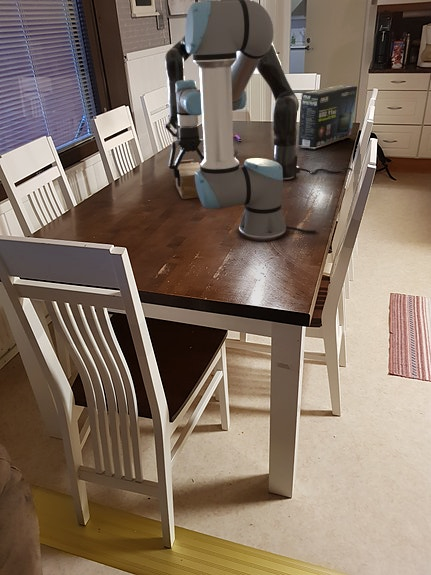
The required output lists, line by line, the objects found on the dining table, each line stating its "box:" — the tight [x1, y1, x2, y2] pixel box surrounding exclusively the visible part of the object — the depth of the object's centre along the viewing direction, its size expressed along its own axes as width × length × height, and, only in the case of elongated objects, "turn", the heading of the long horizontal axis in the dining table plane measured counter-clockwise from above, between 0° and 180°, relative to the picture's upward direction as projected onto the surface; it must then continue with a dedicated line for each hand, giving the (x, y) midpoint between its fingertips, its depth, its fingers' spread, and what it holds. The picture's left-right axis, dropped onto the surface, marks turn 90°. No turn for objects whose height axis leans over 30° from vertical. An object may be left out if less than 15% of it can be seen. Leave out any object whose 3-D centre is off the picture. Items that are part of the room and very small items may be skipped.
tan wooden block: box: [175, 161, 200, 200], centre depth 184 cm, size 16×10×9 cm, turn 13°
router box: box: [297, 84, 358, 151], centre depth 238 cm, size 36×11×27 cm, turn 134°
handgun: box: [233, 134, 243, 143], centre depth 259 cm, size 21×8×2 cm, turn 11°
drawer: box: [173, 159, 195, 180], centre depth 194 cm, size 20×9×7 cm, turn 13°
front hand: (192, 184), depth 181 cm, fingers closed on tan wooden block, 10 cm apart
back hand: (181, 146), depth 196 cm, fingers closed
